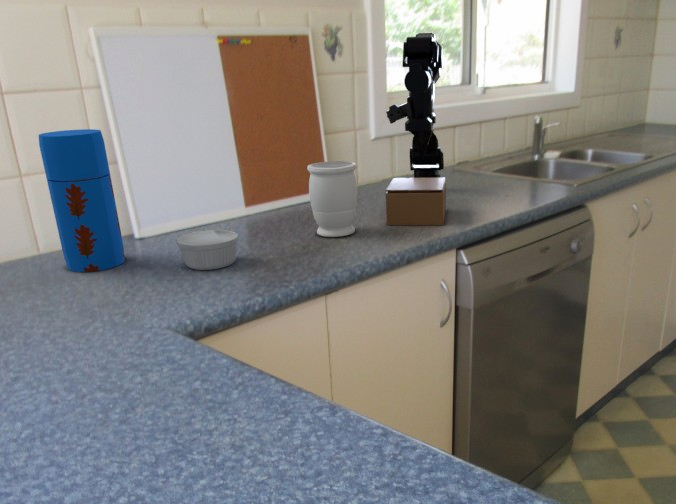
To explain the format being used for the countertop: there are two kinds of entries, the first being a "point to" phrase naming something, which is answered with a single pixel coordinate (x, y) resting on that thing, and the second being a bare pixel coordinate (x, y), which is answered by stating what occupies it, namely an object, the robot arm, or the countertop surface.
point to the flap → (417, 180)
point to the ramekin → (208, 249)
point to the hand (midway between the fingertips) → (421, 156)
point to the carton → (416, 204)
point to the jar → (333, 197)
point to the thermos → (82, 199)
